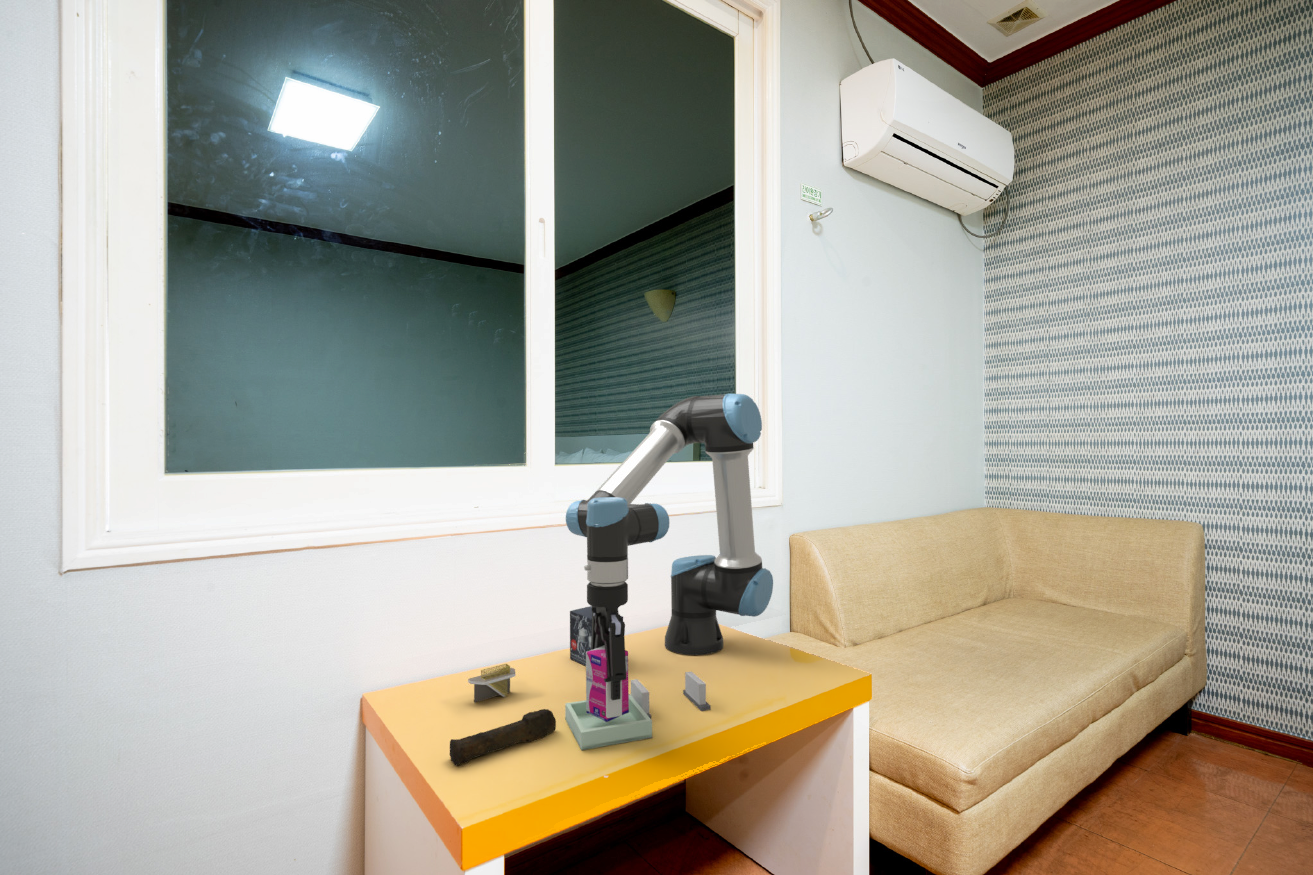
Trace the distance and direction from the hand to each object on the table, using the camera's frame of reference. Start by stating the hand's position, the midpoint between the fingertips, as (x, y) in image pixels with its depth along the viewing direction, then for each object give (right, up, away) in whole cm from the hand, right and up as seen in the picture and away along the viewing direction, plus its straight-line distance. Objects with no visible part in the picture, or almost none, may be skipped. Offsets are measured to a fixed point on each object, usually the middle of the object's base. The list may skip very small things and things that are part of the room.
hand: (607, 706), depth 112 cm
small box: (-6, -5, +34) cm, 35 cm away
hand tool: (-17, -4, -7) cm, 19 cm away
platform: (-24, -5, +13) cm, 28 cm away
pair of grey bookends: (+11, -4, +9) cm, 15 cm away
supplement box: (0, -1, 0) cm, 1 cm away
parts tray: (0, -4, 0) cm, 4 cm away
